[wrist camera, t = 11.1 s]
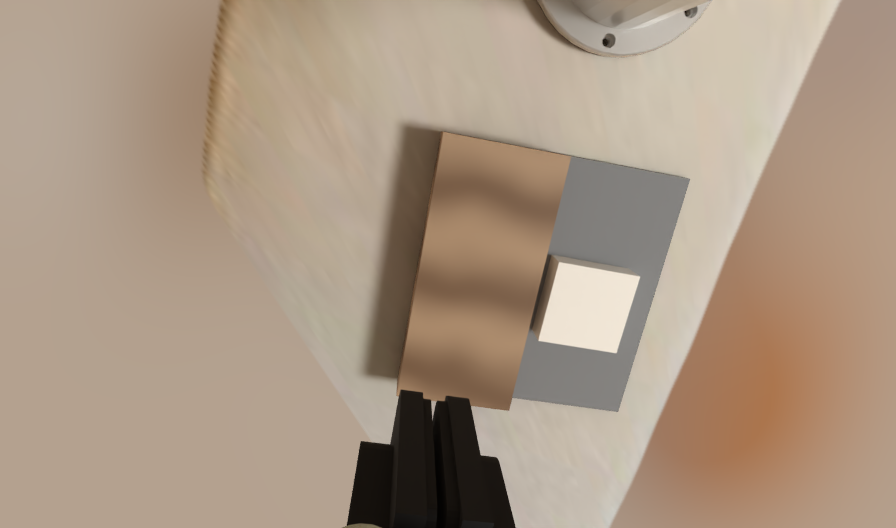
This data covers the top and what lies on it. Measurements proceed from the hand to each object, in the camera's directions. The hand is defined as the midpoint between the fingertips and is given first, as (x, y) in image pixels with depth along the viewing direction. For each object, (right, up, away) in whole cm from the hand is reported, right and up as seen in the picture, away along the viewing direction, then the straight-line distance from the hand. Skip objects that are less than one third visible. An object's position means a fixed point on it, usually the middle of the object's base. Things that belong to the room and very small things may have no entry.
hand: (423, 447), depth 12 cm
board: (+3, +4, +25) cm, 26 cm away
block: (+10, +2, +26) cm, 28 cm away
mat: (+11, +2, +26) cm, 29 cm away
